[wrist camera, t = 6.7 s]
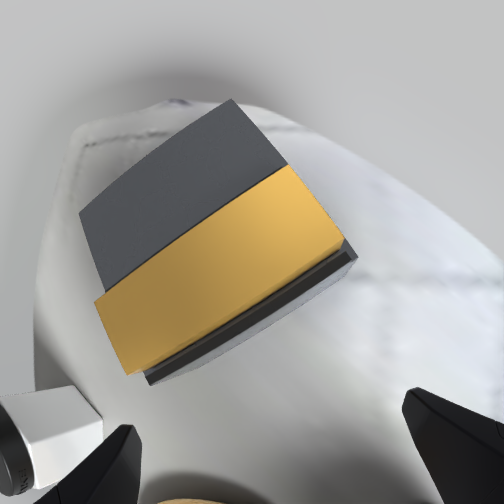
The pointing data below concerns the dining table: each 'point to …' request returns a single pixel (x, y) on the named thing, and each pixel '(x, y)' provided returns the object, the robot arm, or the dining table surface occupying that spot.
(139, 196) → the box
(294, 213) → the key
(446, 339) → the dining table surface
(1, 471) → the jar
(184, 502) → the plant saucer
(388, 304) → the dining table surface
